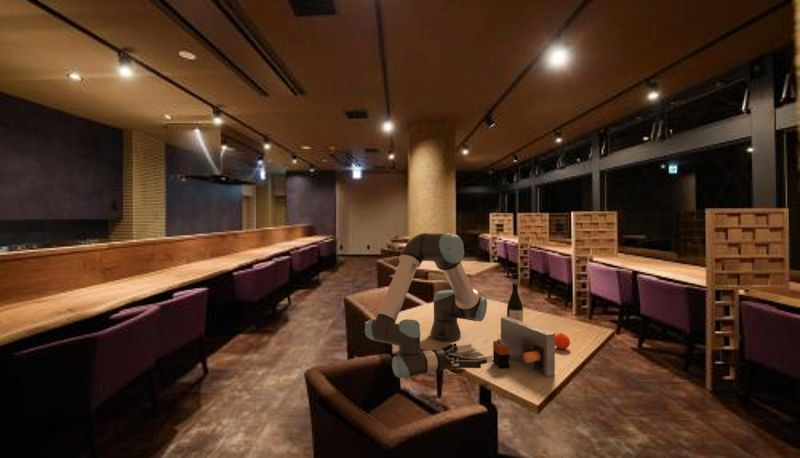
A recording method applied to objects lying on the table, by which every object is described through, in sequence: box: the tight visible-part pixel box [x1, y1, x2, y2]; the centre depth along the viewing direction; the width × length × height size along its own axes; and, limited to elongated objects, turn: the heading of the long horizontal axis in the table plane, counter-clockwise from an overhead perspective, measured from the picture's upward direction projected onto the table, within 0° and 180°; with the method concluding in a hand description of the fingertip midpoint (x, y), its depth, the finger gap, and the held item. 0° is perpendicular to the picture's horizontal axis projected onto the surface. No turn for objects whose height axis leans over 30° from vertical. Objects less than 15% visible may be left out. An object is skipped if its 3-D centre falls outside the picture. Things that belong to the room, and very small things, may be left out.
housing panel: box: [500, 316, 556, 379], centre depth 148 cm, size 26×4×16 cm, turn 24°
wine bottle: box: [506, 272, 524, 322], centre depth 192 cm, size 8×8×30 cm
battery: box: [492, 338, 510, 370], centre depth 146 cm, size 4×7×10 cm, turn 6°
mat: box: [462, 351, 486, 358], centre depth 154 cm, size 11×8×1 cm
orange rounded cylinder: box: [523, 351, 540, 363], centre depth 137 cm, size 4×5×4 cm
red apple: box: [555, 332, 571, 350], centre depth 165 cm, size 8×7×7 cm
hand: (481, 352), depth 142 cm, fingers open, 13 cm apart
